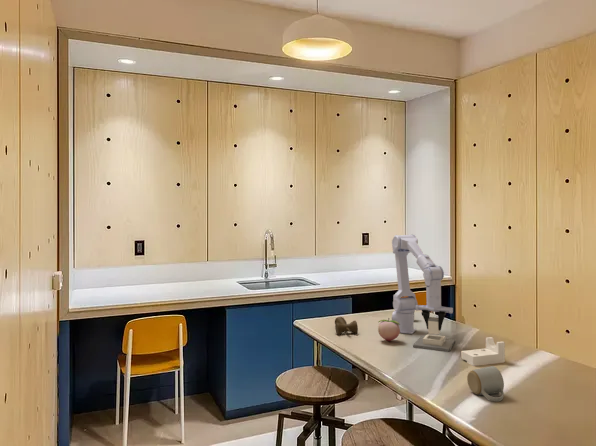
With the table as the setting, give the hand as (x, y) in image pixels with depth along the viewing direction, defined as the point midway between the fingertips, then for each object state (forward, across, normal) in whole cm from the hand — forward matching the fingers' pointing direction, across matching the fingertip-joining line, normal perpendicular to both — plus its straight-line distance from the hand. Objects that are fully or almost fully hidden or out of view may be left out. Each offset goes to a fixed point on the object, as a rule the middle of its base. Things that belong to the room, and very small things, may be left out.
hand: (434, 329), depth 189 cm
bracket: (+7, +20, -13) cm, 25 cm away
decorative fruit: (+7, -18, -3) cm, 19 cm away
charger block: (+2, 0, 0) cm, 2 cm away
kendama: (+7, -41, +5) cm, 42 cm away
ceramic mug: (+7, +25, -45) cm, 52 cm away
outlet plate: (+6, 0, 0) cm, 6 cm away
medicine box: (+7, -21, +36) cm, 42 cm away
